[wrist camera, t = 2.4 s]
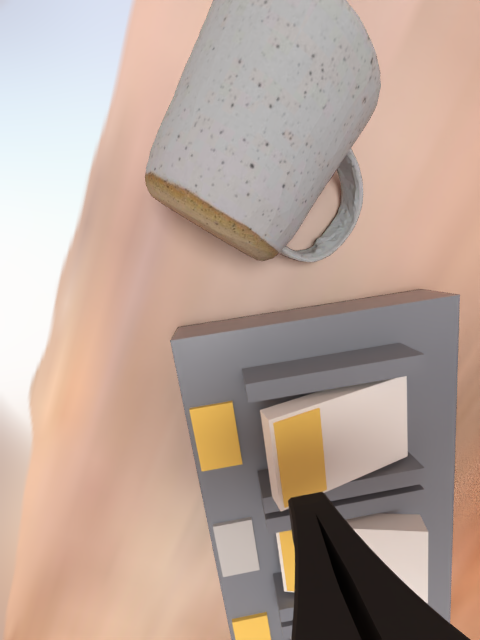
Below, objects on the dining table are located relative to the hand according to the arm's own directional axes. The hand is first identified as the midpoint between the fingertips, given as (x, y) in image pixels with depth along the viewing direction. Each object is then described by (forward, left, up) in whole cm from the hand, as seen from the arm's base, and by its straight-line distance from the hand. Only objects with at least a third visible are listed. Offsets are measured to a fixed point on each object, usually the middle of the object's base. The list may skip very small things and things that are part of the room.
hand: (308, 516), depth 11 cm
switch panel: (-3, +8, -9) cm, 12 cm away
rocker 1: (-3, 0, -4) cm, 5 cm away
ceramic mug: (-2, -14, -9) cm, 17 cm away
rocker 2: (-3, +8, -4) cm, 10 cm away
